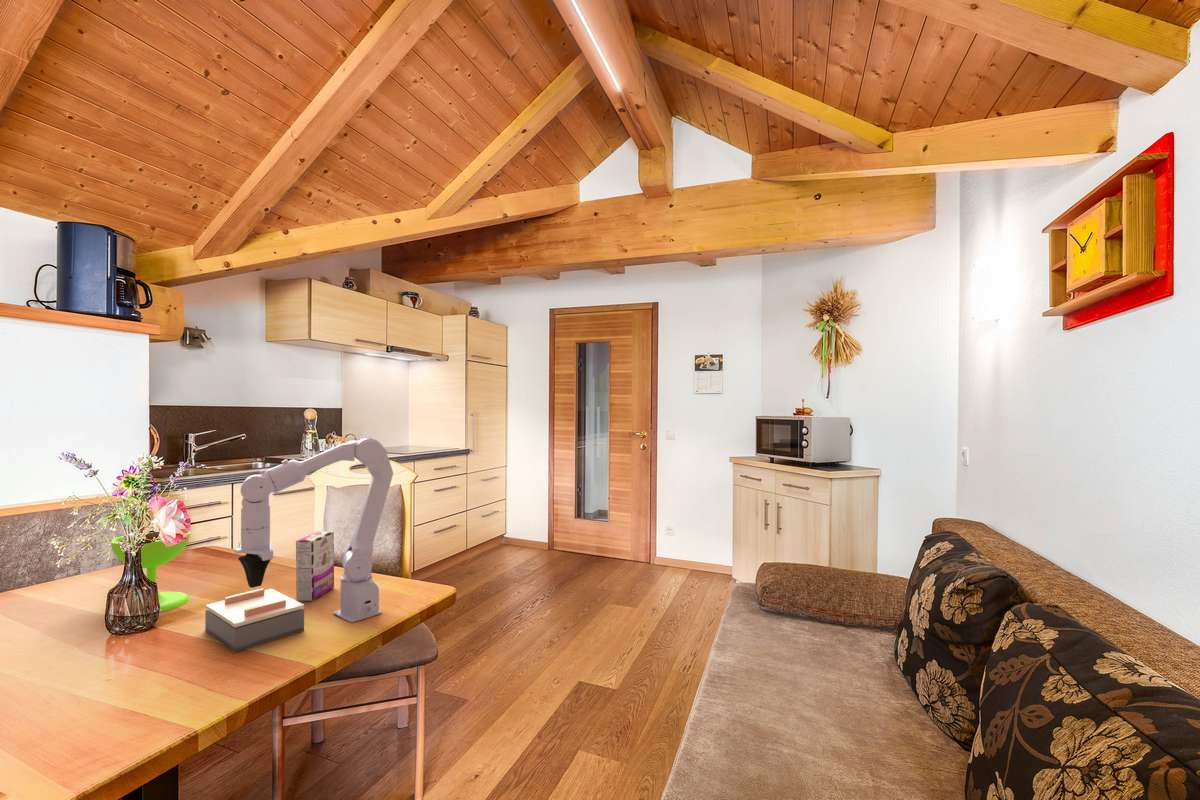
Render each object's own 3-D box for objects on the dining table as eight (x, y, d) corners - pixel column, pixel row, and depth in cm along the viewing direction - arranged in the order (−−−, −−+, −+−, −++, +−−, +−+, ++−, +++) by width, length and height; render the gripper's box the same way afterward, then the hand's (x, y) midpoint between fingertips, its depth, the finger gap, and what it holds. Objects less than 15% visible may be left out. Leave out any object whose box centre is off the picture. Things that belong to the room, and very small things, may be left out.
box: (304, 631, 125) (304, 609, 125) (234, 652, 114) (234, 629, 114) (271, 613, 136) (271, 593, 136) (205, 631, 125) (205, 609, 125)
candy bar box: (317, 587, 155) (317, 530, 155) (334, 588, 154) (335, 530, 155) (294, 601, 143) (295, 540, 144) (313, 602, 143) (313, 540, 144)
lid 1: (287, 599, 130) (287, 590, 130) (219, 617, 119) (219, 607, 119) (271, 591, 136) (271, 583, 136) (205, 608, 125) (205, 598, 125)
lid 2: (304, 608, 125) (304, 598, 125) (234, 627, 114) (234, 617, 114) (287, 599, 130) (287, 590, 130) (219, 617, 119) (219, 607, 119)
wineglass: (94, 619, 131) (95, 545, 131) (132, 597, 147) (132, 531, 147) (171, 613, 135) (172, 541, 136) (200, 592, 151) (200, 527, 151)
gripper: (224, 526, 126) (223, 584, 126) (248, 535, 117) (247, 597, 117) (257, 521, 132) (257, 576, 132) (283, 529, 123) (282, 588, 123)
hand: (255, 586), depth 125 cm, fingers closed
